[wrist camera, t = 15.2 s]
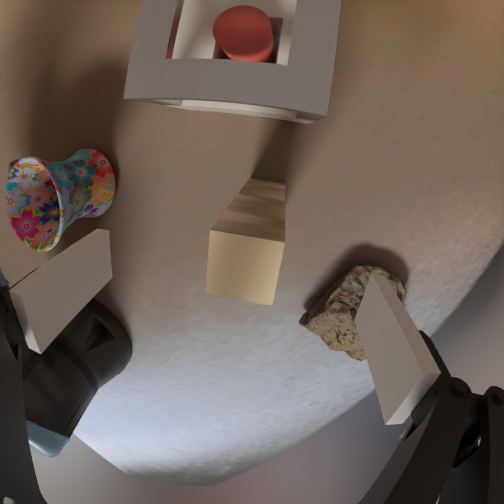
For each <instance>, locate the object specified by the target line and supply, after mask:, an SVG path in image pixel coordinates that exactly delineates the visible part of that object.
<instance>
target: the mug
mask: <svg viewBox="0 0 504 504" xmlns="http://www.w3.org/2000/svg"><path fill="white" fill-rule="evenodd" d="M12 167H13V168H12ZM8 171H9V176H8V180H7V185H6V206H7V212H8V216H9V219H10V222H11V224H12V227H13V229H14V230H15V232H16V234H17V235H18V237H19V238H20V239H21V241H22V242H23V243H24V244H25V245H27V246H28V247H29V248H31V249H33V250H35V251H39V252H45V251H48V250H50V249H52V248H53V247H54V246H55V245H56V244H57V243H58V241H59V240H60V238H61V236H62V234H63V232H64V231H65V229H66V228H67V227H68V226H69V225H70V224H71V223H72V222H73V221H75V220H76V219H78V218H81V217H86V218H95V217H98V216H100V215H102V214H103V213H104V212H106V210H107V209H108V208H109V207H110V205H111V203H112V201H113V198H114V194H115V176H114V172H113V169H112V167H111V165H110V163H109V161H108V160H107V158H106V157H105V156H104V155H103V154H102V153H100V152H99V151H97V150H95V149H90V148H84V149H80V150H78V151H76V152H75V153H74V154H72V155H71V156H70V158H69V159H67V160H64V161H60V162H50V161H45V160H42V159H40V158H38V157H34V156H27V157H24V158H22V159H20V160H14V161H12V162H11V163H10V164H9V167H8Z"/></svg>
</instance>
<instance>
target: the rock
mask: <svg viewBox="0 0 504 504" xmlns="http://www.w3.org/2000/svg"><path fill="white" fill-rule="evenodd" d="M371 274H376V275H382V276H385V277H386V279H387V280H388V282H389V283H390V285H391V286H392V288H393V290H394V291H395V293H396V294H397V296H398V298H399V299H400V301H401V300H402V298H403V297H404V296H405V294H406V293H407V291H406V288H405V286H404V284H403V282H402V280H400V278H399V277H398V276H397V275H395V274H392V273H390V272H388V271H387V270H386V269H384V268H380V267H372V266H368V265H365V266H362V265H358V266H355V267H353V268H352V269H351V270H350V271H348V273H347V274H345V275H344V276H343V277H342V278H341V279H340V280H338V281H336V282H335V283H333V284H332V285H331V286H330V289H329V290H328V291H327V292H326V293H325V294H324V295H323V296H322V297H321V298H320V299H319V300H318V301H317V302H316V303H315V305H314V306H313V307H312V308H310V309H308V310H307V312H305V313H304V314H303V316H302V317H301V319H300V320H299V323H300V324H301V325H303V326H304V327H306V328H307V329H309V330H310V331H311V332H312V333H315V334H317V335H318V336H320V337H321V339H322V340H323V341H324V342H325V343H326V344H327V345H328V346H329V349H330V350H335V351H345V352H346V353H347V354H348V355H349V356H350V357H351V358H353V359H356V360H359V361H362V360H364V359H366V355H365V351H364V348H363V345H362V342H361V339H360V336H359V333H358V330H357V327H356V324H355V321H354V320H355V317H356V314H357V312H358V309H359V307H360V304H361V301H362V298H363V296H364V293H365V290H366V287H367V284H368V282H369V279H370V276H371Z"/></svg>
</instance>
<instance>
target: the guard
mask: <svg viewBox="0 0 504 504" xmlns="http://www.w3.org/2000/svg"><path fill="white" fill-rule="evenodd" d="M184 1H185V0H143V3H142V6H141V10H140V14H139V18H138V22H137V26H136V30H135V35H134V39H133V44H132V49H131V54H130V60H129V65H128V71H127V78H126V84H125V91H124V99H127V100H135V101H141V102H148V103H154V104H160V105H174V106H181V103H182V100H199V101H215V102H227V103H238V104H247V105H256V106H263V107H271V108H277V109H284V110H290V111H296V115H295V118H299V119H305V120H310V121H317V120H319V119H321V118H323V117H326V116H327V112H328V105H329V99H330V92H331V85H332V78H333V70H334V63H335V55H336V47H337V38H338V29H339V20H340V9H341V0H297V2H296V9H295V16H294V23H293V30H292V37H291V43H290V50H289V57H288V64H287V66H286V65H280V64H272V63H264V62H254V61H243V60H229V59H200V58H186V59H172V56H173V51H174V46H175V41H176V36H177V31H178V26H179V22H180V17H181V13H182V9H183V5H184Z"/></svg>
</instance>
